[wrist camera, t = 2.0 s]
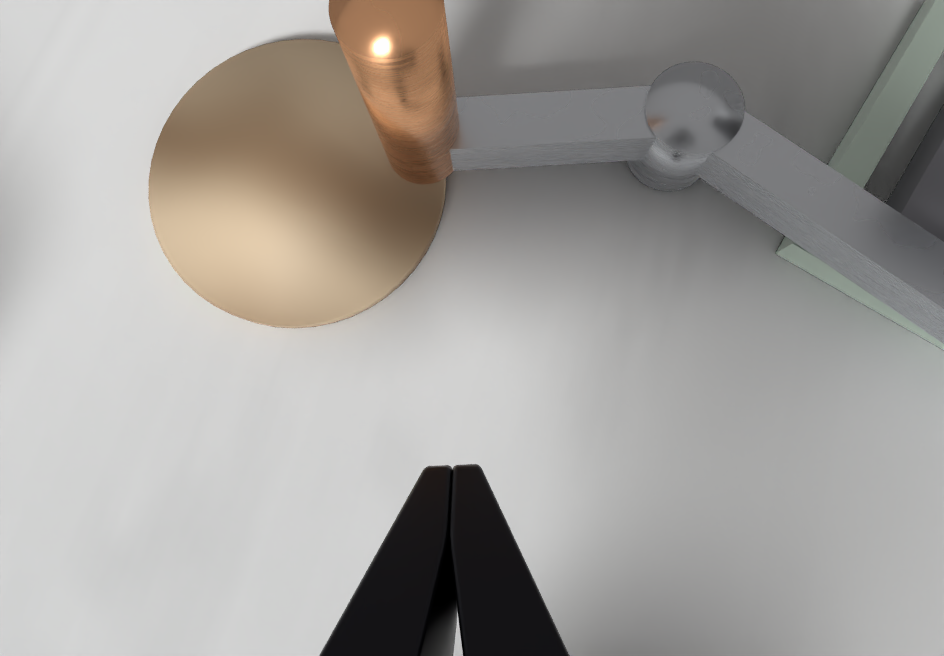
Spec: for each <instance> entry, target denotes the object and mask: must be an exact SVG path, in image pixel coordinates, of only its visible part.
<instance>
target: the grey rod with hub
mask: <svg viewBox="0 0 944 656" xmlns="http://www.w3.org/2000/svg"><path fill="white" fill-rule="evenodd" d="M329 16H330V21H331V24H332V27H333V29H334V32H335V34H336V36H337V39H338V41H339V43H340V46H341V48H342V51H343V53H344V55H345V58H346V60H347V62H348V65H349V67H350V70H351V72H352V74H353V77H354V79H355V81H356V84H357V86H358V89H359V91H360V93H361V96H362V98H363V100H364V103H365V105H366V108H367V110H368V112H369V115H370V117H371V119H372V122H373V124H374V127H375V129H376V131H377V134H378V136H379V138H380V141H381V143H382V146H383V148H384V150H385V153H386V155H387V157H388V160H389V162H390V164H391V166H392V168H393V169H394V171H395V172H396V173H397V174H398V175H399V176H400V177H402V178H403V179H405V180H407V181H409V182H412V183H415V184H432V183H436V182H439V181H441V180H443V179H444V178H446V177H447V176H449V175H450V174H451V173H452V172H453V171H460V170H477V169H494V168H512V167H529V166H547V165H564V164H581V163H599V162H616V161H627V164H628V166H629V168H630V170H631V172H632V173H633V174H634V176H635V177H636V178H637V179H638V180H639V181H641V182H642V183H643V184H645V185H647V186H649V187H651V188H653V189H657V190H661V191H676V190H680V189H683V188H686V187H688V186H690V185H692V184H693V183H695V182H696V181H697V180H698V179H699V178H701V179H702V180H704V181H705V182H707V183H708V184H710V185H711V186H713V187H714V188H716V189H717V190H719V191H720V192H721V193H723V194H724V195H726V196H727V197H729V198H730V199H732V200H733V201H735V202H736V203H738V204H739V205H741V206H742V207H743V208H745V209H746V210H748V211H749V212H751V213H752V214H754V215H755V216H757V217H758V218H760V219H761V220H763V221H764V222H765V223H767V224H768V225H770V226H771V227H773V228H774V229H776V230H777V231H779V232H780V233H782V234H783V235H785V236H786V237H787V238H789V239H790V240H792V241H793V242H795V243H796V244H798V245H799V246H801V247H802V248H804V249H805V250H807V251H808V252H809V253H811V254H812V255H814V256H815V257H817V258H818V259H820V260H821V261H823V262H824V263H826V264H827V265H829V266H830V267H831V268H833V269H834V270H836V271H837V272H839V273H840V274H842V275H843V276H845V277H846V278H848V279H849V280H851V281H852V282H853V283H855V284H856V285H858V286H859V287H861V288H862V289H864V290H865V291H867V292H868V293H870V294H871V295H873V296H874V297H875V298H877V299H878V300H880V301H881V302H883V303H884V304H886V305H887V306H889V307H890V308H892V309H893V310H895V311H896V312H897V313H899V314H900V315H902V316H903V317H905V318H906V319H908V320H909V321H911V322H912V323H914V324H915V325H917V326H918V327H919V328H921V329H922V330H924V331H925V332H927V333H928V334H930V335H931V336H933V337H934V338H936V339H937V340H939V341H940V342H941V343H943V344H944V242H943V241H942V240H940V239H939V238H937V237H936V236H934V235H933V234H931V233H929V232H928V231H926V230H925V229H923V228H922V227H920V226H919V225H917V224H916V223H914V222H913V221H911V220H910V219H908V218H907V217H905V216H904V215H902V214H901V213H899V212H898V211H896V210H895V209H893V208H892V207H890V206H889V205H887V204H886V203H884V202H883V201H881V200H879V199H878V198H876V197H875V196H873V195H872V194H870V193H869V192H867V191H866V190H864V189H863V188H861V187H860V186H858V185H857V184H855V183H854V182H852V181H851V180H849V179H848V178H846V177H845V176H843V175H842V174H840V173H839V172H837V171H836V170H834V169H833V168H831V167H829V166H828V165H826V164H825V163H823V162H822V161H820V160H819V159H817V158H816V157H814V156H813V155H811V154H810V153H808V152H807V151H805V150H804V149H802V148H801V147H799V146H798V145H796V144H795V143H793V142H792V141H790V140H789V139H787V138H786V137H784V136H783V135H781V134H779V133H778V132H776V131H775V130H773V129H772V128H770V127H769V126H767V125H766V124H764V123H763V122H761V121H760V120H758V119H757V118H755V117H754V116H752V115H751V114H749V113H748V112H746V111H745V103H744V98H743V94H742V92H741V90H740V88H739V86H738V85H737V83H736V82H735V80H734V79H733V78H732V77H731V76H730V75H729V74H728V73H726V72H725V71H724V70H722V69H720V68H718V67H716V66H714V65H711V64H708V63H703V62H685V63H680V64H677V65H674V66H672V67H670V68H668V69H667V70H665V71H664V72H662V73H661V74H660V75H659V76H658V77H657V78H656V79H655V81H654V82H653V84H652V85H649V86H632V87H616V88H600V89H583V90H567V91H551V92H535V93H518V94H502V95H486V96H469V97H456V93H455V85H454V77H453V69H452V61H451V54H450V46H449V38H448V30H447V22H446V14H445V7H444V0H329Z"/></svg>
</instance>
